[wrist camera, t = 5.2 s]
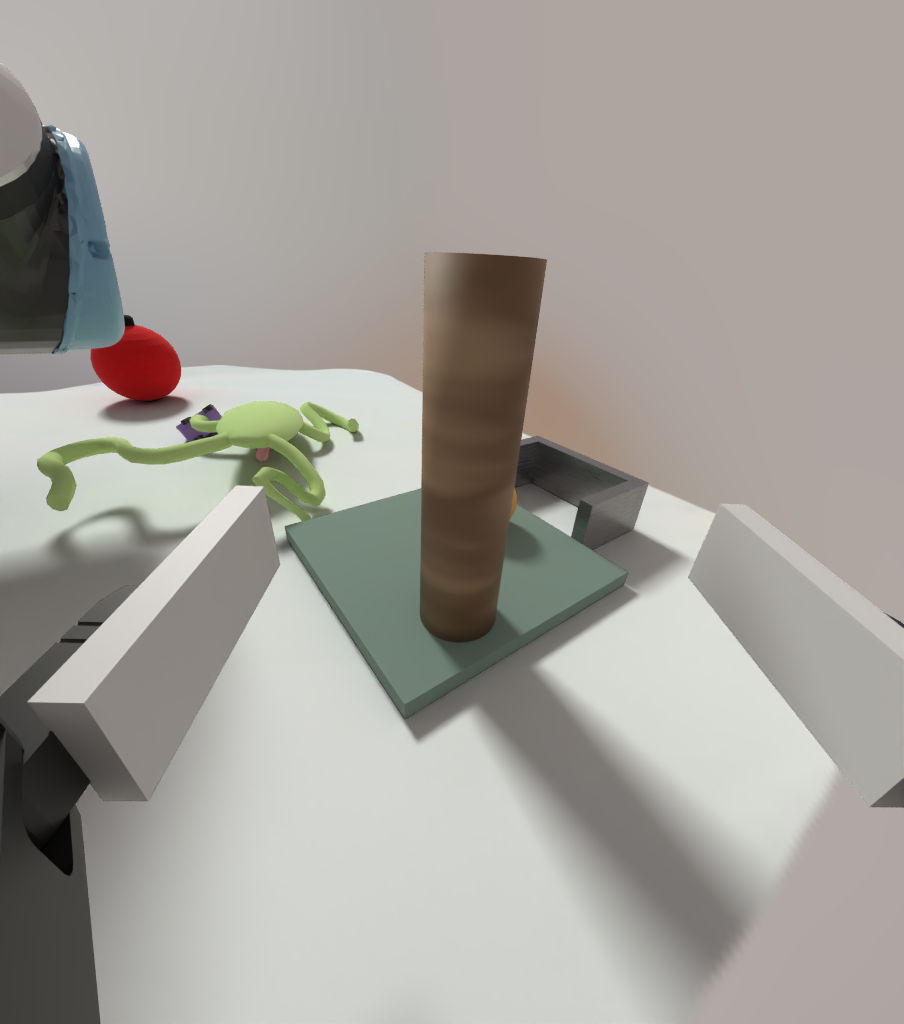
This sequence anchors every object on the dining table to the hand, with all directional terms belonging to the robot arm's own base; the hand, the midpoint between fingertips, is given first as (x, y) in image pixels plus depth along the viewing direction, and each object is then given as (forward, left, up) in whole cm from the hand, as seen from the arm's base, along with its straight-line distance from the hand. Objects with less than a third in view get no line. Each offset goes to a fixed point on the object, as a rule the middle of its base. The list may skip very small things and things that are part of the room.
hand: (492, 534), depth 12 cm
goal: (+17, +11, -10) cm, 22 cm away
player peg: (+3, +5, -9) cm, 11 cm away
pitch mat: (+6, +10, -10) cm, 15 cm away
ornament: (-7, +59, -10) cm, 60 cm away
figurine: (-2, +31, -11) cm, 33 cm away
